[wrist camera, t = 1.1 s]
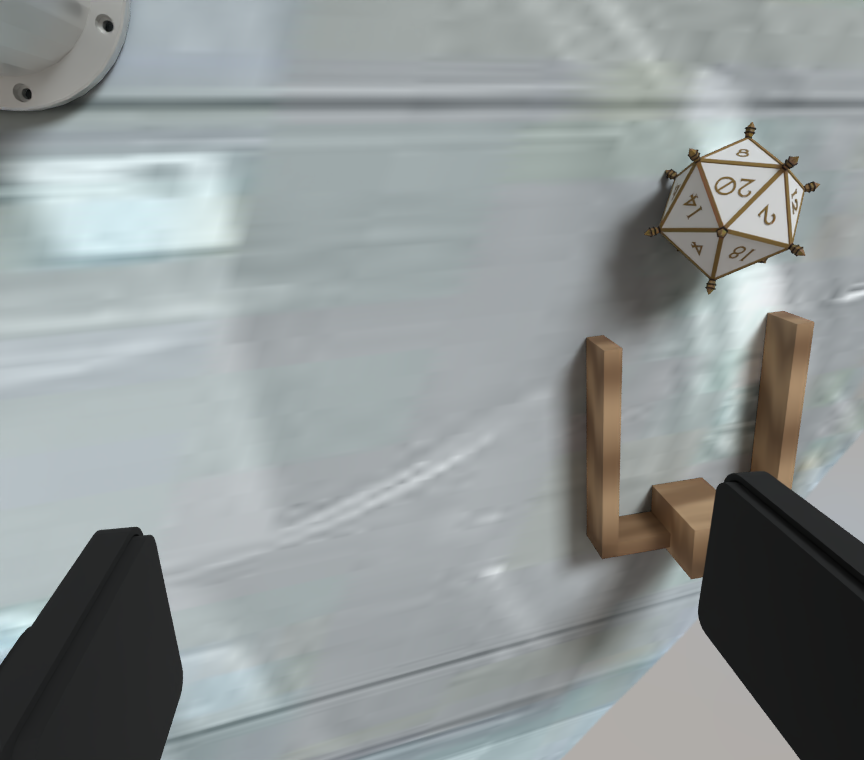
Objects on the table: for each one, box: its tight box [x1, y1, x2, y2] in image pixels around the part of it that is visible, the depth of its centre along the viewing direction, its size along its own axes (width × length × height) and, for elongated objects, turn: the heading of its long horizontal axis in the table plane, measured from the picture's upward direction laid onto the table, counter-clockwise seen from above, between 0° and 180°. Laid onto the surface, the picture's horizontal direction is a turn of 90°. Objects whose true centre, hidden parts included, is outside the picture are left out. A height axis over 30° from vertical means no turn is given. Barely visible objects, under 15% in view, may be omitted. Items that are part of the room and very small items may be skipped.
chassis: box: [586, 311, 814, 579], centre depth 42 cm, size 16×14×8 cm
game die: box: [644, 122, 820, 295], centre depth 36 cm, size 9×8×10 cm
